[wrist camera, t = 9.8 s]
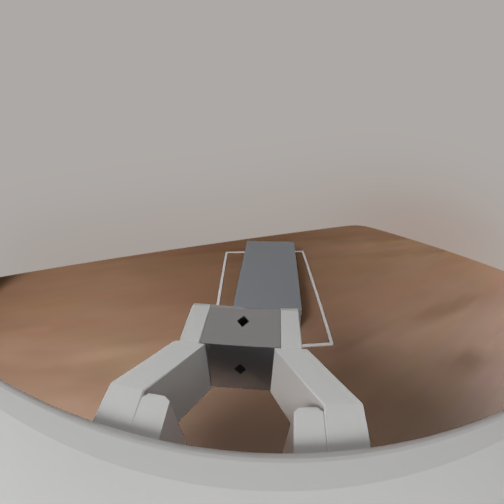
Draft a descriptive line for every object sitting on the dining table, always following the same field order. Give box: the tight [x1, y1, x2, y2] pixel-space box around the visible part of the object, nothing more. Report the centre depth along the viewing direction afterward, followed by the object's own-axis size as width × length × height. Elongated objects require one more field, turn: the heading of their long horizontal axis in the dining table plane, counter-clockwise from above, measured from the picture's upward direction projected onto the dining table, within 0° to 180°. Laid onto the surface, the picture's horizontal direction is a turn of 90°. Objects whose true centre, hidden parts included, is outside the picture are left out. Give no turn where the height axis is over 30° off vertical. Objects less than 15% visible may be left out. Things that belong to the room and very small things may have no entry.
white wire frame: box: [217, 251, 333, 347], centre depth 31 cm, size 11×1×18 cm
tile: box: [233, 241, 302, 321], centre depth 31 cm, size 6×2×14 cm
